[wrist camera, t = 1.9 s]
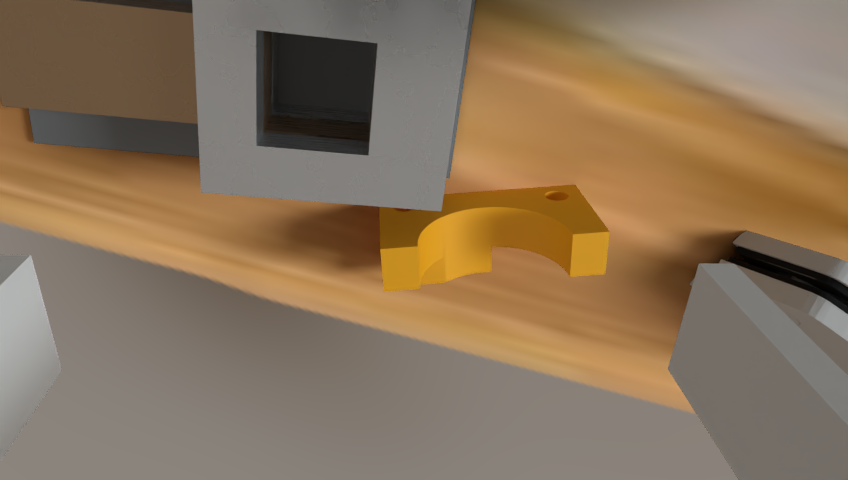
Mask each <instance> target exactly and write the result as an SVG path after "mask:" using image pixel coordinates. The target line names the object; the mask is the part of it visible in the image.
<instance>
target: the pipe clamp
mask: <svg viewBox="0 0 848 480" xmlns="http://www.w3.org/2000/svg"><path fill="white" fill-rule="evenodd" d="M379 221H380V253H381V264H382V275H383V286H384V292H385V291H398V290H410V289H420V285H421V284H433V283H445V282H447V281H449V280H452V279H454V278H457V277H460V276H464V275H468V274H473V273H481V272H491V247H511V248H518V249H523V250H528V251H532V252H535V253H538V254H540V255H543V256H545V257H547V258H549V259H551V260H553V261H555V262H556V263H557V264H559V265H560V266H561V267H562V268H564V269H565V271H566V272H567V273H568V275H569V276H570V277H574V276H586V275H599V274H605V272H606V262H607V252H608V242H609V230H608V229H607V227H606V226H605V225H604V223H603V222H602V221H601V219H600V218H599V217H598V215H597V214H596V213H595V211H594V210H593V208H592V207H591V206H590V204H589V203H588V202H587V200H586V199H585V198H584V196H583V195H582V194H581V192H580V191H579V189H578V188H577V187H576V185H565V186H551V187H538V188H524V189H510V190H496V191H483V192H469V193H455V194H444V196H443V203H442V210H441V211H429V210H416V209H404V208H391V207H379Z"/></svg>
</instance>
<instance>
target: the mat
mask: <svg viewBox="0 0 848 480" xmlns="http://www.w3.org/2000/svg"><path fill="white" fill-rule="evenodd" d="M157 1H166V2H175V3H184V4H192V0H157ZM475 1H476V0H472V3H471V10H470V17H469V24H468V31H467V38H466V44H465V51H464V58H463V65H462V72H461V79H460V86H459V93H458V100H457V107H456V113H455V120H454V127H453V134H452V141H451V148H450V155H449V162H448V169H447V176H446V178H450V171H451V164H452V157H453V151H454V144H455V137H456V130H457V123H458V117H459V110H460V103H461V96H462V89H463V83H464V76H465V69H466V62H467V56H468V49H469V42H470V35H471V28H472V22H473V15H474V8H475ZM374 47H375V43H370V42H361V41H352V40H343V39H334V38H324V37H315V36H306V35H297V34H288V33H279V32H278V99H277V103H279V104H290V105H300V106H310V107H321V108H331V109H342V110H352V111H363V112H369V109H370V96H371V84H372V71H373V59H374ZM29 115H30V121H31V127H32V133H33V139H34V143H40V144H52V145H64V146H75V147H87V148H99V149H111V150H123V151H134V152H146V153H158V154H170V155H182V156H193V157H199V137H198V124H193V123H182V122H171V121H160V120H149V119H138V118H127V117H116V116H105V115H94V114H83V113H72V112H61V111H50V110H39V109H29Z"/></svg>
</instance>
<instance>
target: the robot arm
mask: <svg viewBox="0 0 848 480" xmlns="http://www.w3.org/2000/svg"><path fill="white" fill-rule="evenodd" d="M668 370H669V371H670V373H671V375H672V376H673V378H674V379H675V381H676V382H677V384H678V386H679V387H680V389H681V390H682V392H683V393H684V395H685V397H686V398H687V400H688V401H689V403H690V404H691V406H692V408H693V409H694V411H695V412H696V414H697V415H698V417H699V418H700V420H701V421H702V423H703V425H704V426H705V428H706V429H707V431H708V433H709V434H710V436H711V437H712V439H713V440H714V442H715V444H716V445H717V447H718V448H719V450H720V451H721V453H722V454H723V456H724V458H725V459H726V461H727V462H728V464H729V466H730V467H731V469H732V470H733V472H734V473H735V475H736V476H737V478H738V479H739V480H848V375H847V374H846V373H845V372H844V371H843V370H842V369H841V368H840V367H839V366H838V365H837V364H836V363H835V362H834V361H833V360H832V359H831V358H830V357H829V356H828V355H827V354H826V353H825V352H823V351H822V350H821V349H820V348H819V347H818V346H817V345H816V344H815V343H814V342H813V341H812V340H811V339H810V338H809V337H808V336H807V335H806V334H805V333H804V332H803V331H802V330H801V329H800V328H799V327H798V326H797V325H796V324H795V323H794V322H793V321H792V320H791V319H790V318H789V317H788V316H787V315H786V314H785V313H784V312H783V311H782V310H781V309H780V308H779V307H778V306H777V305H776V304H775V303H774V302H773V301H772V300H771V299H770V298H769V297H768V296H767V295H766V294H765V293H764V292H763V291H762V290H761V289H760V288H759V287H758V286H756V285H755V284H754V283H753V282H752V281H751V280H750V279H749V278H748V277H747V276H746V275H745V274H744V273H743V272H742V271H741V270H740V269H739V268H738V267H737V266H736V265H735V264H716V263H699V265H698V268H697V272H696V275H695V279H694V282H693V285H692V289H691V292H690V296H689V299H688V302H687V306H686V309H685V313H684V316H683V319H682V323H681V326H680V330H679V333H678V336H677V340H676V343H675V347H674V350H673V353H672V357H671V360H670V364H669V367H668ZM61 371H62V369H61V365H60V361H59V358H58V354H57V350H56V347H55V343H54V339H53V336H52V332H51V328H50V324H49V320H48V317H47V313H46V310H45V306H44V302H43V298H42V295H41V291H40V287H39V283H38V280H37V276H36V272H35V269H34V265H33V261H32V257H31V255H1V254H0V461H1V460H2V458H3V457H4V455H5V454H6V452H7V451H8V449H9V448H10V446H11V445H12V443H13V442H14V441H15V439H16V438H17V436H18V435H19V433H20V432H21V430H22V429H23V427H24V426H25V424H26V423H27V421H28V420H29V418H30V417H31V415H32V414H33V412H34V411H35V410H36V408H37V407H38V405H39V404H40V402H41V400H42V399H43V397H44V396H45V395H46V393H47V392H48V390H49V389H50V387H51V386H52V384H53V383H54V382H55V380H56V378H57V377H58V375H59V374H60V373H61Z"/></svg>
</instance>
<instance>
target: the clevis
mask: <svg viewBox="0 0 848 480" xmlns="http://www.w3.org/2000/svg"><path fill="white" fill-rule="evenodd" d="M471 3H472V0H192V4H184V3H175V2H166V1H157V0H0V98H1V104H2V106H6V107H17V108H28V109H39V110H50V111H61V112H72V113H83V114H94V115H105V116H116V117H127V118H138V119H149V120H160V121H171V122H182V123H193V124H198V137H199V159H200V180H201V193H212V194H225V195H238V196H250V197H263V198H276V199H289V200H302V201H314V202H327V203H340V204H353V205H365V206H378V207H391V208H404V209H416V210H429V211H441V210H442V203H443V196H444V189H445V182H446V176H447V169H448V162H449V155H450V148H451V141H452V134H453V127H454V120H455V113H456V107H457V100H458V93H459V86H460V79H461V72H462V65H463V58H464V51H465V44H466V38H467V31H468V24H469V17H470V10H471ZM278 32H279V33H288V34H297V35H306V36H315V37H324V38H334V39H343V40H352V41H361V42H370V43H375V47H374V59H373V71H372V84H371V96H370V109H369V112H363V111H352V110H342V109H331V108H321V107H310V106H300V105H290V104H279V103H277V99H278Z"/></svg>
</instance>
